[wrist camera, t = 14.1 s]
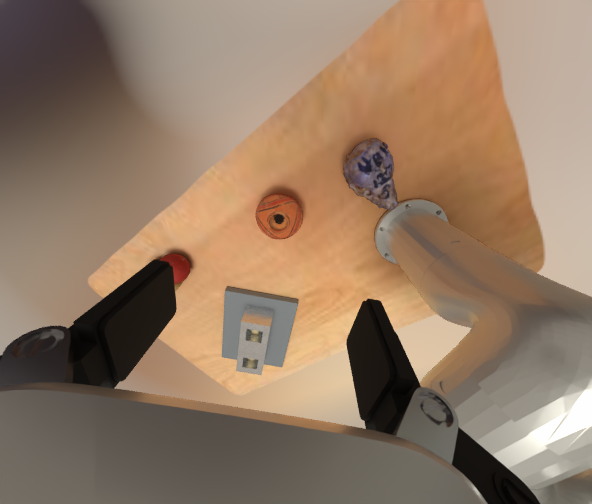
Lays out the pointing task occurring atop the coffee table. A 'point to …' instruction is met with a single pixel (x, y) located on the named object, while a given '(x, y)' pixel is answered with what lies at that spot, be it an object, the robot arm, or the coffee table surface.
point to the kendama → (178, 268)
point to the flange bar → (253, 339)
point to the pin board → (276, 325)
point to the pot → (279, 216)
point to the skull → (372, 173)
